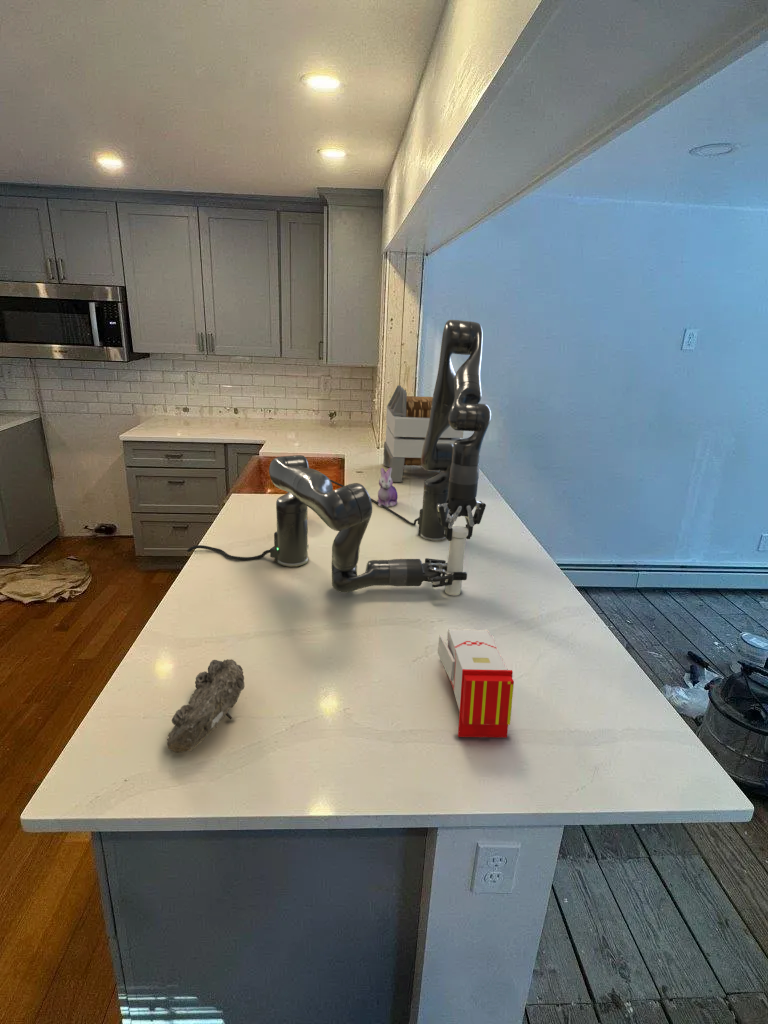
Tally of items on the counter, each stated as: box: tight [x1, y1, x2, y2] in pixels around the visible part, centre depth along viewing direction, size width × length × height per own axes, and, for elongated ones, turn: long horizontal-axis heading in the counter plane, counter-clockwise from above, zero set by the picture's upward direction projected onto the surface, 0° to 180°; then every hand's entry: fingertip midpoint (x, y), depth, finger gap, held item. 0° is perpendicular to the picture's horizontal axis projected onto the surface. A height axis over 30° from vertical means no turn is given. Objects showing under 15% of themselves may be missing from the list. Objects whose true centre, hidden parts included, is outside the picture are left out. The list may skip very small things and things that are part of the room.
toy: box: [437, 628, 515, 738], centre depth 117 cm, size 12×13×30 cm
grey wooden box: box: [383, 384, 465, 483], centre depth 268 cm, size 34×33×41 cm
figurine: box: [377, 467, 399, 508], centre depth 227 cm, size 9×10×15 cm
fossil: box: [166, 658, 245, 754], centre depth 106 cm, size 22×10×15 cm
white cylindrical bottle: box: [444, 536, 467, 597], centre depth 157 cm, size 4×4×19 cm
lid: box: [452, 525, 468, 538], centre depth 154 cm, size 5×5×2 cm
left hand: (464, 572), depth 159 cm, fingers closed on white cylindrical bottle, 4 cm apart
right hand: (457, 538), depth 155 cm, fingers closed on lid, 5 cm apart
